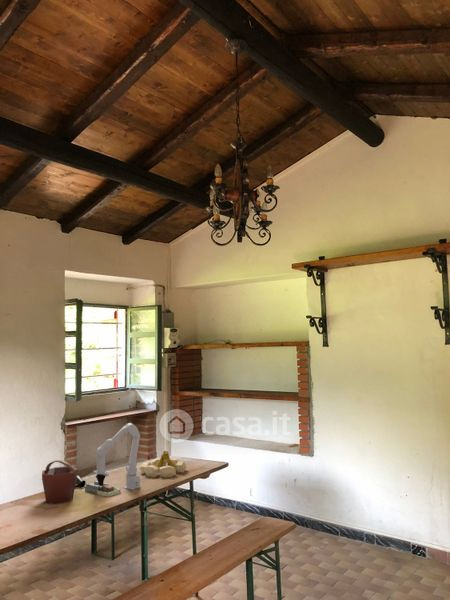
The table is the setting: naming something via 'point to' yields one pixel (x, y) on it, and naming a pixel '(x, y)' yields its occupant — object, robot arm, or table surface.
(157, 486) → the table surface
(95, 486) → the rail
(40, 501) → the table surface
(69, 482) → the bucket
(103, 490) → the block
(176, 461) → the campfire
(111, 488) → the block
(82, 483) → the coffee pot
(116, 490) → the tray
